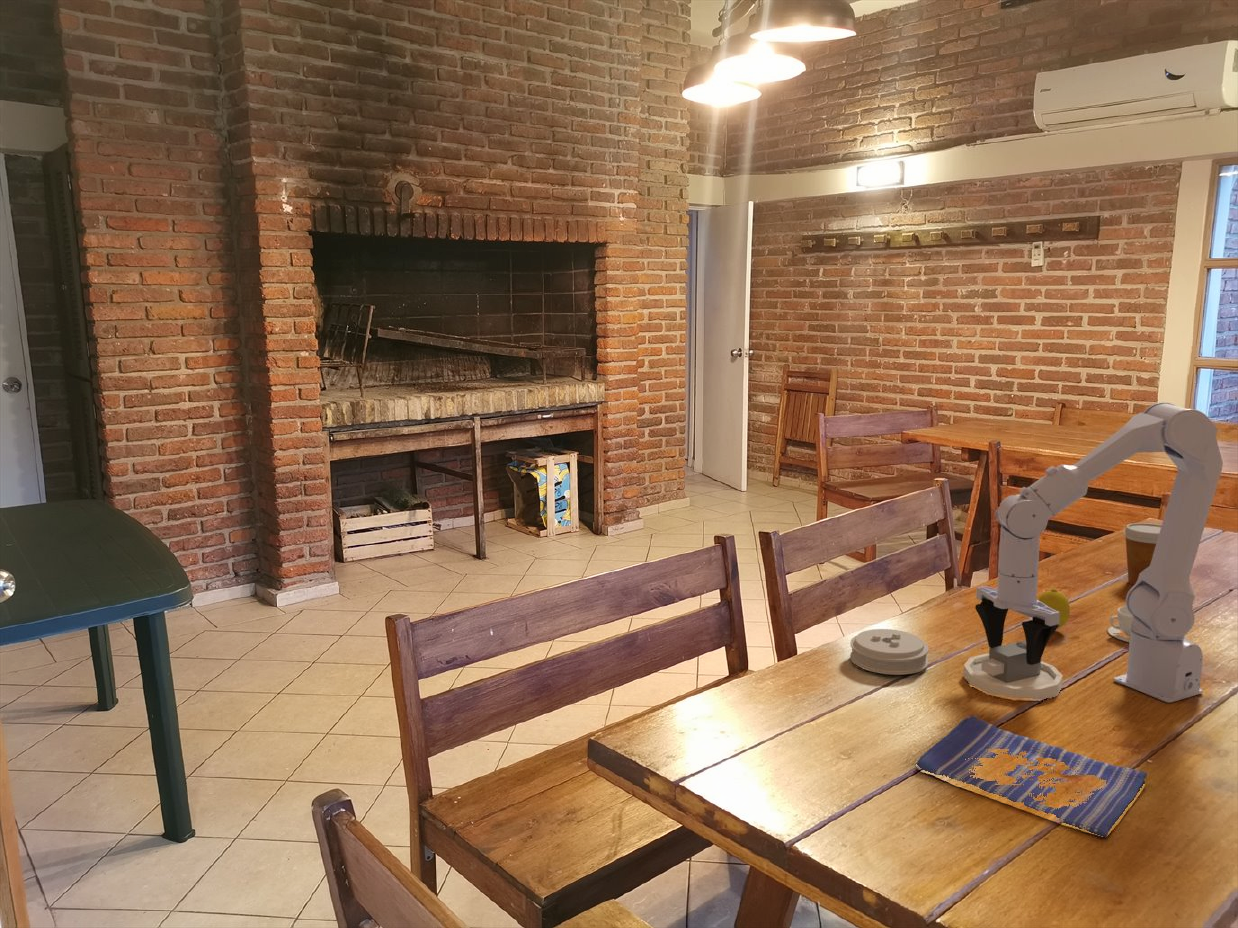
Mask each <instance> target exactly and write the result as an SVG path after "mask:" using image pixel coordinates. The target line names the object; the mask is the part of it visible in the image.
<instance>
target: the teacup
mask: <svg viewBox="0 0 1238 928" xmlns="http://www.w3.org/2000/svg"><path fill="white" fill-rule="evenodd" d="M1116 619H1117V621H1118V624H1117V625H1115V624H1114V621H1115V620H1116ZM1132 619H1133V615H1132V614H1131V613H1130V612H1129V611H1128V609H1127V607H1126V605H1124V606H1120V607H1117V615H1112V616H1111V617H1110V619H1109V622H1110V625H1111V626H1110V627H1108V629H1107V633H1108V634H1109V635H1110V636H1112V637H1113V638H1116V639H1118V640H1120V641H1122V642H1123V641H1124V642H1127V643H1129V642H1130V638H1124V637H1123V636H1120V635H1117V634H1113V633H1125V634H1126V635H1127V636H1129V637H1130V629H1131V623H1132ZM1120 630H1122V631H1123V632H1121V631H1120Z"/></svg>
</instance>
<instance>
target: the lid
mask: <svg viewBox="0 0 1238 928" xmlns="http://www.w3.org/2000/svg"><path fill="white" fill-rule="evenodd" d="M850 647H851V652H850V654H849V657H850V661H851V662H852V663H853V664H854V665H855V666H857V667H859V668H861V669H863V670H866V671H869V672H873V673H876V674H877V673H879V674H881V675H882V674H883V675H884V674H885V675H892V676H893V675H894V676H896V675H899V676H901V675H910V674H911V675H912V674H917V673H919V672H922V671H923V670H925V669H927V668H928V666H929V660H928V658H927V657H928V654H929V650H930V649H929V645H928V644H927V643H926V642H925V641H924V640H923V639H922V638H920V637H919V636H917V635H916V634H913V633H911V632H907V631H905V630H904V631H903V630H898V629H891V628H874V629H869V630H863V631H861V632H859V633H858V634H857V635H855V636H854V637H852V638H851V639H850Z"/></svg>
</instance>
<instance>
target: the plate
mask: <svg viewBox="0 0 1238 928" xmlns="http://www.w3.org/2000/svg"><path fill="white" fill-rule="evenodd" d="M987 659H989V652H988V653H983V654H978V655H975V656H971V657H969V658H968V660H967V661H966V662H965V663H964V664H963V676H964V677H966V679H967V680H968V682H969V684H970V685H972V686H975V687H978V688H980V689H981V690H983V691H985V692H987V693H989V694H990V693H991V694H994V695H1003V696H1007V697H1013V698H1033V699H1046V698H1050V699H1052V698H1051V697H1054V698H1056V697H1055V696H1057V697H1058V696H1059V694H1060V693H1059V692H1061V691H1062V689H1063V680H1064V679H1063V678H1064V675H1063V674H1062V673H1061V672H1060V671H1059V670H1058V669H1057V668H1056V667H1055V665H1052V664H1050V663H1047V662H1045V661H1042V660H1041V671H1040V675H1038V676H1034V677H1030V678H1026V679H1022V680H1018V681H1014V682H1010V683H1005V682H1003V681H1001V680H999V679H997V678H995V677H992V676H990V675H988V673H986V672H984V671H982V670H981V668H982V661H983V660H987ZM964 677H963V678H964ZM969 684H968V685H969ZM1061 688H1062V689H1061ZM1060 690H1061V691H1060Z"/></svg>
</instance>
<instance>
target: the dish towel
mask: <svg viewBox="0 0 1238 928" xmlns="http://www.w3.org/2000/svg"><path fill="white" fill-rule="evenodd" d="M986 749H987V750H986ZM988 749H993V750H994V749H1009V751H1007V752H1008V753H1007V754H1008V755H1009V754H1010V756H1011V755H1012V754H1013V755H1014V756H1015V755H1019V753H1020V752H1022V751H1023V752H1024V751H1026V753H1028V754H1026V755H1024V756H1023V755H1022V758H1027V761H1029V763H1030V761H1031V763H1033V762H1034V764H1033V765H1032V764H1031V765H1030V764H1029V763H1028V764H1029V765H1015V766H1016V769H1014V771H1009V772H1007V773H1005V774H1004V775H1006V776H1007V775H1008V776H1010V777H1012V778H1016V781H1017V782H1016V783H1014V782H1013V783H1012V784H1019V785H1015V786H1014V785H1009V784H1008V785H1005V784H1004V785H995V784H998V782H997V781H996V780H995V781H986V779H985V780H984V779H980V778H977V779H976V777H975V778H973V776H971V777H970V775H975V773H973V772H971V770H970V771H969V769H972V771H973V769H974V766H983V765H981V764H982V763H980V761H978V760H979V758H990V757H991V758H995V756H996V755H999V754H995V753H994V752H991V750H990V751H988ZM1010 752H1011V753H1010ZM1000 753H1002V752H1000ZM1003 753H1004V752H1003ZM1005 754H1006V753H1005ZM1013 755H1012V756H1013ZM1020 755H1021V754H1020ZM993 756H994V757H993ZM1040 757H1041V758H1042V757H1043V758H1052V759H1056V761H1060V762H1064V763H1065V765H1067V766H1070V767H1069V768H1070V769H1069V770H1068V769H1067V770H1064V771H1065V772H1064V771H1063V772H1061V774H1063V775H1064V774H1065V775H1095V776H1096V777H1097V778H1099V779H1100V778H1101V780H1102V779H1103V780H1107V781H1106V784H1107V785H1106V786H1105V787H1104V788H1101V789H1099V790H1098V789H1097V790H1096V791H1092V793H1094V794H1092V795H1091V798H1090V796H1089V800H1088V799H1087V801H1085V802H1087V803H1085V804H1084V803H1082V804H1081V805H1080V804H1079V806H1077V807H1074V806H1073V807H1072V805H1071V806H1070V804H1069V806H1068V807H1067V806H1063V807H1061V808H1059V809H1058V808H1057V809H1056V808H1055V809H1054V808H1052V807H1048V806H1046V805H1044V804H1042V803H1040V802H1046V800H1045V799H1044V798H1043V800H1042V801H1035V800H1034V799H1033V796H1034V797H1035V798H1037V795H1039V794H1040V793H1041V795H1040V797H1041V796H1042V793H1043V796H1044V797H1045V796H1046V797H1047V793H1054V792H1055V791H1056V790H1057V789H1056V788H1055V786H1054V788H1053V787H1051V788H1050V785H1048V788H1045V786H1043V787H1042V789H1041V786H1040V788H1039V784H1041V782H1039V781H1038V780H1040V779H1037V778H1038V776H1040V775H1046V774H1047V773H1044V772H1042V771H1039V770H1038V771H1037V769H1034V770H1033V769H1032V770H1029V769H1028V768H1029V767H1027V766H1037V764H1038V760H1036V758H1040ZM968 758H969V759H968ZM972 758H973V759H972ZM975 758H976V759H975ZM977 758H978V759H977ZM996 758H997V757H996ZM1017 758H1018V757H1017ZM965 759H966V760H965ZM978 762H979V763H978ZM915 764H917V765H918V766H919V767H920V768H922V769H923V770H925V771H928V772H930V773H934V774H935V775H942V776H943V775H945V776H946V777H947V776H948V777H949V778H951V779H955V780H957V781H962V782H963V783H964V782H966V784H972V785H974V786H976V787H979V788H980V789H982V790H984V791H987V792H989V793H993V794H997V795H999V796H1002V797H1006V798H1007V799H1009V800H1011V801H1013V802H1019V803H1020V802H1022V803H1023V802H1024V805H1025V806H1027V807H1030V808H1033V809H1035V810H1037V811H1043V812H1045V813H1047V814H1048V813H1051V814H1054V815H1056V817H1057V818H1060V819H1059V820H1061V822H1063V823H1066V824H1069V825H1072V826H1075V827H1078V828H1079V829H1084V830H1087V831H1089V832H1091V833H1094V834H1097V835H1100V836H1103V837H1106V838H1108V837H1107V835H1108V832H1109V831H1110V829H1111V828H1112V826H1113V825H1114V824H1115V822H1116V821H1117V820H1118V819H1119V817H1120V816H1121V815H1122V814H1123V812H1124V811H1125V809H1126V808H1127V807H1128V805H1129V804H1130V803H1131V802H1132V801H1133V800H1134V798H1135V797H1136V795H1137V793H1138V792H1139V791H1140V788H1142V786H1143V784H1145V783H1146V781H1145V779H1146V778H1147V775H1148V773H1147V772H1146V771H1141V770H1136V769H1134V768H1130V767H1126V766H1120V765H1112V764H1110V763H1107V762H1102V761H1098V760H1096V759H1092V758H1090V757H1088V756H1086V755H1082V754H1078V753H1076V752H1073V751H1068V750H1067V749H1064V748H1062V747H1059V746H1055V745H1053V746H1052V745H1050V744H1048V743H1045V742H1042V741H1038V740H1034V739H1031V738H1030V737H1027V736H1025V735H1024V736H1023V735H1019V734H1015V733H1013V732H1011V731H1008V730H1004V729H1001V728H999V727H997V726H995V725H994V724H992V723H989V722H987V721H985V720H983V719H980V718H978V717H976V716H975V715H970V716H969V717H965V718H964V719H963V720H961V721H960V722H959V723H958V724H957V725H956V726H955V727H954V728H953V729H952V730H951V731H950V732H949V733H947V735H946V736H944V737H943V738H941V739H940V740H939V741H937V742H936V743H935V744H934V745H933V746H932V747H930V748H929V749H928V750H927V751H926V752H925V753H923V755H921V756H920V757H919V759H918V761H917V762H916V763H915ZM1026 764H1027V763H1026ZM1039 764H1040V763H1039ZM1045 765H1046V766H1050V767H1051V766H1057V765H1055V764H1052V765H1049V764H1048V765H1047V763H1046V764H1044V766H1045ZM972 766H973V767H972ZM1017 766H1018V767H1017ZM1024 766H1025V767H1024ZM1038 766H1039V765H1038ZM1073 767H1074V770H1073ZM1075 767H1076V769H1075ZM1030 768H1031V767H1030ZM1071 768H1072V770H1071ZM975 769H976V768H975ZM1052 769H1054V768H1053V767H1051V770H1052ZM1079 769H1080V770H1079ZM1081 769H1082V770H1081ZM1035 770H1036V771H1035ZM1077 770H1079V771H1078V772H1077ZM974 771H975V770H974ZM1021 771H1022V772H1021ZM1023 771H1024V773H1023ZM1031 771H1032V773H1031ZM1075 771H1076V772H1075ZM969 772H970V773H969ZM1055 772H1056V771H1055ZM1026 773H1027V775H1035V776H1033V777H1032V776H1031V777H1026V778H1025V779H1023V778H1022V776H1019V775H1024V774H1025V775H1026ZM1028 773H1029V774H1028ZM1053 773H1054V770H1053ZM1081 773H1082V774H1081ZM1083 773H1084V774H1083ZM1051 774H1052V772H1051ZM976 775H977V774H976ZM1014 775H1015V776H1014ZM1017 775H1018V776H1017ZM1035 778H1036V779H1035ZM1030 779H1031V780H1030ZM1032 779H1033V780H1032ZM1052 779H1053V780H1052ZM1052 779H1051V780H1052V782H1053V781H1058V780H1059V781H1060V782H1061V781H1062V782H1063V781H1064V780H1065V781H1064V782H1066V779H1063V778H1062V779H1063V780H1062V779H1061V778H1060V779H1058V778H1057V779H1056V778H1055V779H1054V778H1052ZM1041 780H1042V779H1041ZM1019 781H1020V782H1019ZM1043 781H1045V780H1043ZM1047 781H1048V780H1047ZM1047 781H1046V782H1047ZM1049 781H1050V779H1049ZM1067 782H1068V781H1067ZM1067 782H1066V783H1067ZM1070 782H1071V781H1070ZM1020 784H1021V785H1020ZM1023 784H1024V785H1023ZM1044 784H1045V783H1044ZM1049 784H1050V783H1049ZM1052 784H1056V783H1052ZM1057 784H1058V783H1057ZM1059 784H1061V783H1059ZM1037 785H1038V786H1037ZM1044 788H1045V789H1044ZM1027 793H1028V794H1027ZM1029 793H1032V797H1031V794H1030V796H1029ZM1033 793H1034V794H1033ZM1075 793H1076V792H1075ZM1077 793H1080V792H1077ZM1081 793H1082V791H1081ZM1083 793H1084V791H1083ZM1090 793H1091V792H1090ZM1069 802H1077V800H1076V801H1075V799H1074V801H1073V800H1072V801H1071V799H1070V801H1069Z"/></svg>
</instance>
